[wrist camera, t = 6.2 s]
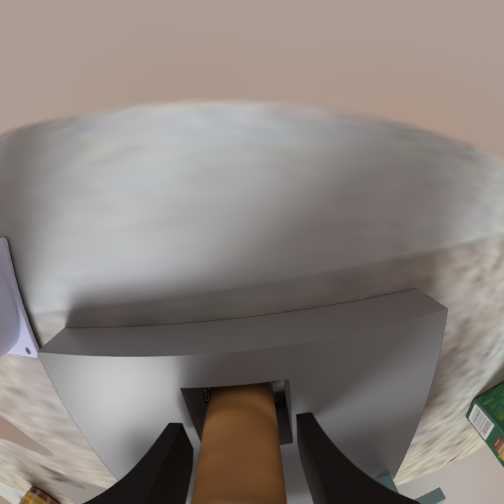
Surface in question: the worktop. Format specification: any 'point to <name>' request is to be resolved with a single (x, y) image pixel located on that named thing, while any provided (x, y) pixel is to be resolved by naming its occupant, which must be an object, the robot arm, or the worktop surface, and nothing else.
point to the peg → (240, 448)
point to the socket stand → (259, 380)
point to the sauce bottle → (37, 497)
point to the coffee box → (490, 419)
